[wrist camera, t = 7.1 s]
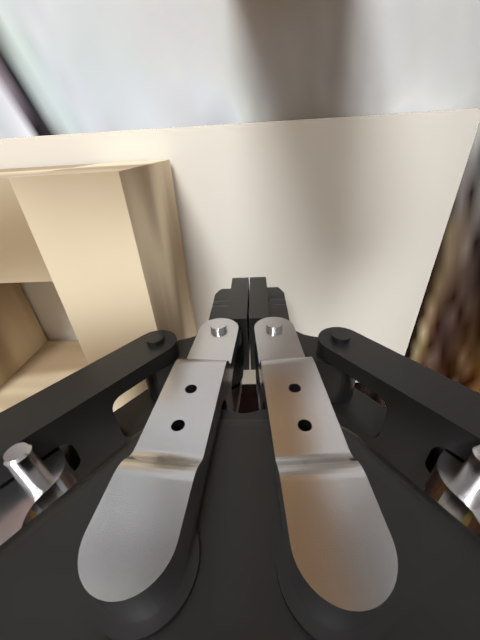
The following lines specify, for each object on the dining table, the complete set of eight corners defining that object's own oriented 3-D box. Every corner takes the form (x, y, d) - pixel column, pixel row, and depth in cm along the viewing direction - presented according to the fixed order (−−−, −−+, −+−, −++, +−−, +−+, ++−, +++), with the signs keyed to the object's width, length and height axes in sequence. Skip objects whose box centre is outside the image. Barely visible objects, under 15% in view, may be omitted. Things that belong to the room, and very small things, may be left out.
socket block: (-101, 175, 12) (-305, 195, 7) (169, 159, 11) (118, 171, 7) (22, 377, 17) (-51, 454, 13) (203, 374, 17) (187, 454, 13)
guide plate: (-126, 147, 12) (-604, 157, 5) (466, 110, 11) (824, 60, 4) (16, 376, 19) (-114, 508, 12) (389, 370, 18) (475, 512, 11)
